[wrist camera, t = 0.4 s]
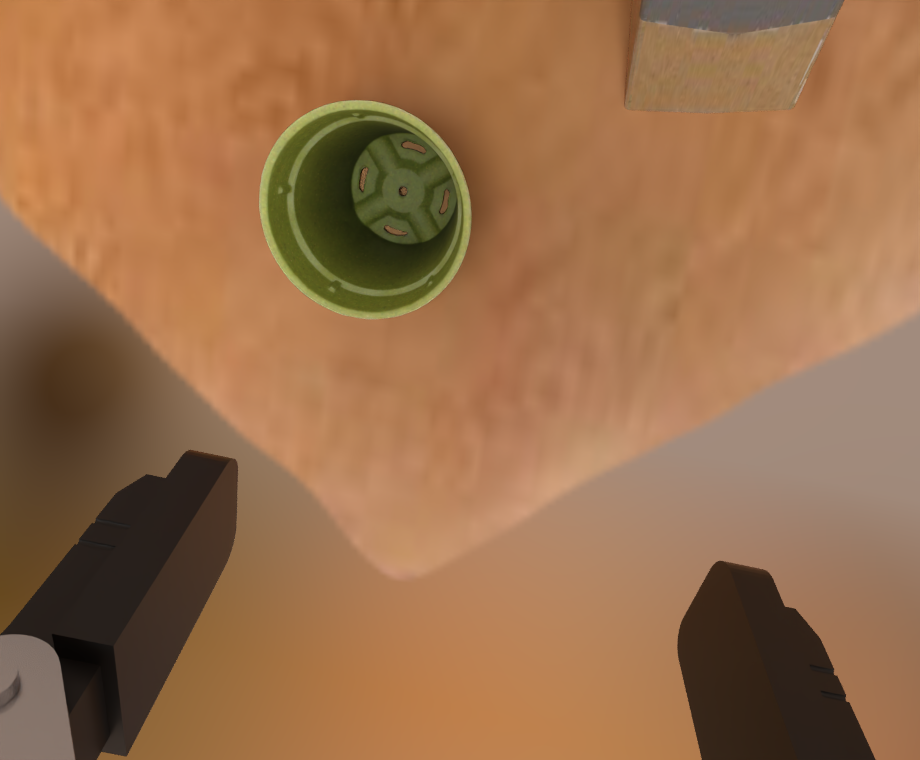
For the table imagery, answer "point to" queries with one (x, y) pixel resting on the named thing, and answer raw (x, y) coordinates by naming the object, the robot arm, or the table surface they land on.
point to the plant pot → (364, 209)
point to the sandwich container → (723, 53)
